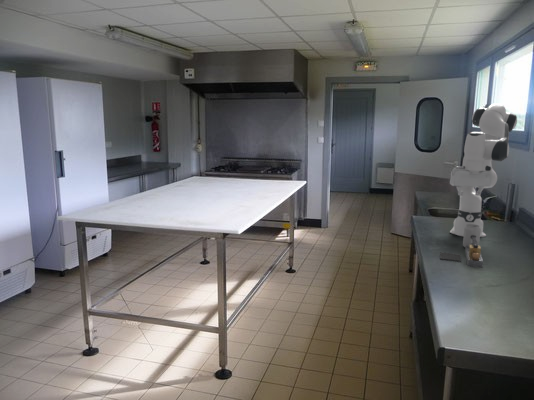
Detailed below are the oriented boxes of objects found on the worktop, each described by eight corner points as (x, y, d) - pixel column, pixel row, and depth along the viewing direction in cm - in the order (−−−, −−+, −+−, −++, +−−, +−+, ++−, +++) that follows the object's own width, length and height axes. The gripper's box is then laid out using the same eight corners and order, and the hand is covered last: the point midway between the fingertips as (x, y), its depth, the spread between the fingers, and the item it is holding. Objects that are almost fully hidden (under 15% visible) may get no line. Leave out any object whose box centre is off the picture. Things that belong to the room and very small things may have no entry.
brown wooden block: (468, 252, 198) (469, 244, 198) (479, 253, 197) (480, 245, 196) (469, 255, 193) (470, 247, 192) (480, 257, 192) (481, 248, 191)
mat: (440, 253, 206) (440, 252, 206) (460, 255, 203) (460, 254, 203) (440, 259, 197) (440, 258, 197) (461, 261, 194) (461, 260, 194)
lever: (470, 237, 208) (470, 234, 208) (475, 237, 207) (475, 235, 207) (472, 247, 191) (473, 245, 191) (478, 248, 190) (479, 245, 190)
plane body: (464, 251, 210) (466, 237, 209) (478, 252, 208) (479, 238, 207) (467, 266, 188) (469, 250, 187) (482, 268, 186) (484, 252, 184)
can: (480, 250, 212) (482, 227, 210) (464, 249, 213) (466, 226, 211) (476, 246, 219) (478, 223, 217) (460, 245, 221) (463, 223, 219)
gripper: (457, 166, 193) (453, 196, 195) (495, 167, 197) (492, 196, 199) (448, 165, 199) (445, 194, 201) (486, 166, 203) (483, 194, 205)
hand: (469, 195), depth 200 cm, fingers open, 8 cm apart
